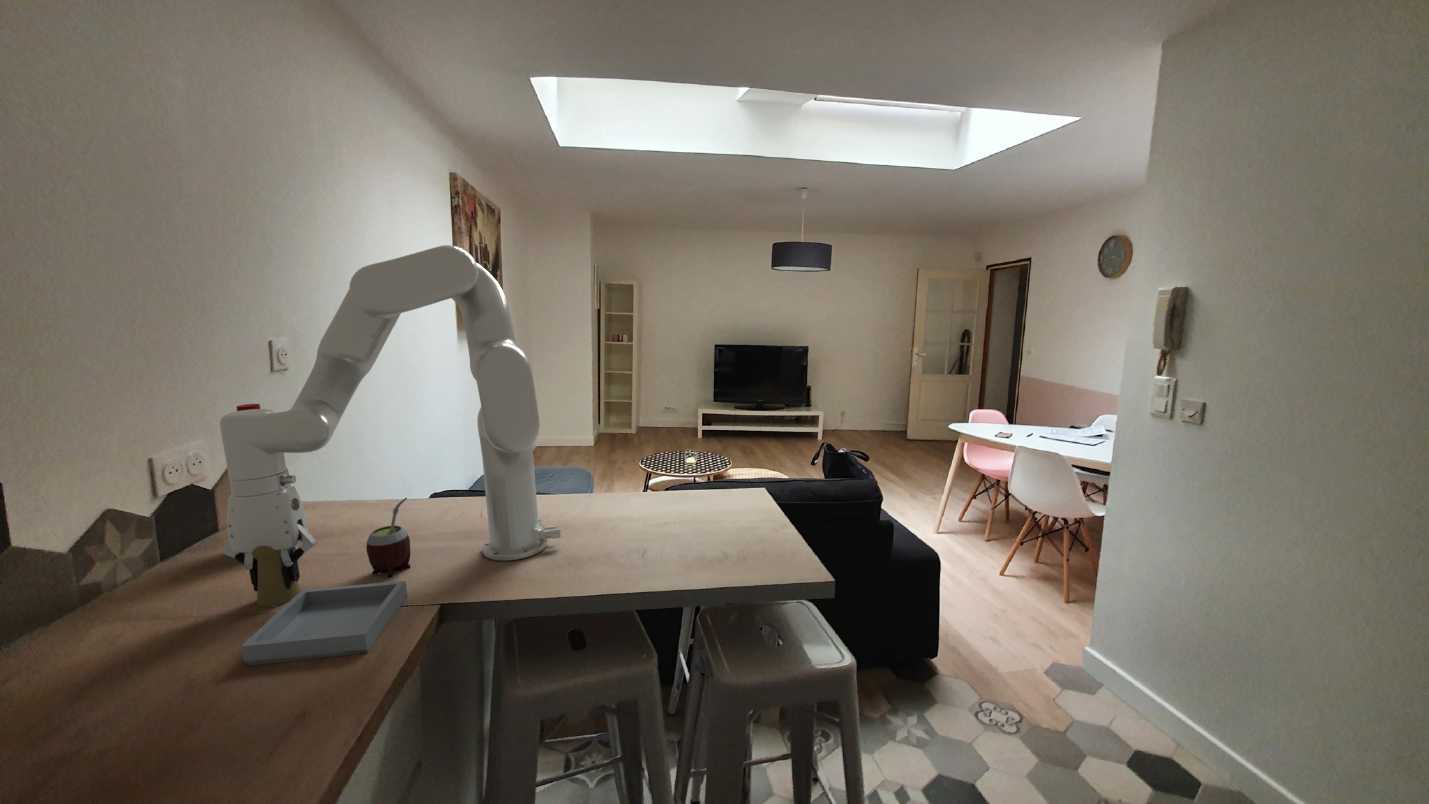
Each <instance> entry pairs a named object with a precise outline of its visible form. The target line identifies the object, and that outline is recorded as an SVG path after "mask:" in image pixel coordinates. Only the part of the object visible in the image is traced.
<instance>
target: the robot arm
mask: <svg viewBox="0 0 1429 804" xmlns="http://www.w3.org/2000/svg"><path fill="white" fill-rule="evenodd" d="M450 299H452V301H454V302H455V304H456V305H457V307H458V309H459V311H460V314H461V319H462V323H463V328H464V333H465V338H466V342H467V343H466V344H467V348H468V356H469V368H470V373H471V374H472V377H473V379H474V380H475V382H476V385H477V391H478V396H479V401H480V408H479V411H478V414H477V432H478V438H479V443H480V450H481V451H480V452H481V459H482V466H483V467H482V469H483V480H484V482H483V483H484V493H485V501H486V502H485V503H486V504H485V505H486V514H487V524H488V525H487V526H488V533H489V534H488V536H489V539H488V540H486V541H485V543H483V544H482V547H481V548H482V554H483V556H484V557H485V558H487V559H490V560H493V561H503V562H504V561H515V560H520V559H525V558H529V557H532V556H534V555H536V554H538V553H540V552H542V551H543V550H544V549H545V548H546V547H547V546H548V542H549V540H548V539H553V540H555V539H561V538H562V528H557V525H549V526H545V525H543V523H542V519H539V515H538V514H539V513H538V503H537V502H538V501H537V500H538V499H537V488H536V487H537V486H536V474H535V472H536V471H535V459H534V458H535V457H534V451H533V445H534V443H535V442H536V440H537V438H538V436H539V433H540V425H541V424H540V415H539V408H538V401H537V395H536V388H535V382H534V376H533V370H532V367H531V364H530V361H529V358H528V357H527V355H526V353H524V351H523V350H522V349H521V348H520V347H519V346H518V345H517V341H516V337H515V331H514V326H513V322H512V318H511V316H512V315H511V312H510V308H509V304H508V300H507V297H506V295H505V293H504V290H503V288H502V287H501V285H500V284H499V282H498V280H497V279H496V278H495V277H494V276H493V275H492V274H491V272H489V271H488V270H487V269H486V268H484V266H482V265H480V264H479V263H477V261H476V260H475V258H474V257H473V256H472V255H471V254H470V253H469V252H468V251H467V250H465V249H464V248H462V247H459V246H457V245H452V244H451V245H449V244H446V245H440V246H435V247H431V248H429V249H425V250H422V251H418V252H415V253H411V254H408V255H407V254H406V255H403V256H400V257H397V258H392V259H389V260H385V261H381V262H375V263H373V264H372V263H371V264H368V265H366V266H362V267H361V268H359V269H358V270H357V271H355V273H354V274H353V276H352V277H351V280H350V282H349V289H348V290H347V292H346V294H345V296H344V298H343V300H342V301H341V304H340V305H339V308H338V309H337V310H336V313H335V314H334V316H333V318H332V320H331V321H330V323H329V325H328V327H327V329H326V331H325V332H324V334H323V336H322V338H321V340H320V341H319V344H318V347H317V350H316V351H317V353H316V358H315V361H314V364H313V367H312V370H311V372H310V374H309V375H308V377H307V379H306V381H305V383H304V385H303V387H302V389H301V391H300V392H299V394H298V396H297V397H296V400H295V401H294V403H293V405H292V406H291V408H290V409H288V410H286V411H279V412H275V411H274V410H272V409H267V408H260V409H251V410H242V411H237V410H236V411H233V412H229V413H226V414H225V415H223V416H222V417H221V419H220V421H219V428H220V433H221V440H222V446H223V451H224V457H225V463H226V469H227V474H228V480H229V485H230V486H229V487H230V492H231V494H230V495H228V498H227V506H226V526H227V535H228V536H227V537H228V540H227V542H226V544H225V545H224V548H223V549H222V553H223V554H224V555H226V556H228V557H230V558H233V559H235V560H236V561H237V562H239V563H241V565H244V566H243V567H244V569H245V570H248V571H249V577H250V582H251V584H252V585H253V586H252V587H253V591H254V592H257V591H258V589H257V586H258V577H257V559H255V558H254V557H253V555H252V552H253V550H254V549H255V548H256V547H259V546H268V547H272V548H273V549H274V550H281V557H282V560H283V562H284V565H285V566H283V567H282V568H281V571H282V575H283V578H284V584H285V587H286V588H287V589H290V588H291V581H297V582H298V583H299V580H300V575H301V574H300V570H299V562H298V560H299V559H301V557H302V556H303V555H304V554H305V553H306V552H308V551H309V550H311V549H312V548H313V547H315V546H316V545H317V543H318V542H317V540H316V539H315V538H314V537H313V536H312V534H311V533H309V532H310V530H309V526H308V521H307V516H306V513H305V509H304V506H303V502H302V500H301V497H300V495H299V493H298V490H297V488H296V487H295V486H293V485H291V484H295V483H296V482H297V477H296V475H293V474H289V475H288V472H289V469H288V468H287V469H288V470H287V469H286V467H287V464H286V460H285V459H286V458H285V453H286V454H289V453H290V454H291V453H293V454H294V453H295V454H300V453H301V454H302V453H303V454H304V453H311V452H315V451H318V450H320V449H322V448H324V447H325V446H326V445H327V444H328V443H329V442H330V440H331V439H332V437H333V435H334V432H335V431H336V428H337V426H338V425H339V423H340V421H341V419H342V416H343V415H344V413H345V411H346V409H347V407H348V405H349V404H350V402H351V400H352V398H353V396H354V394H355V392H356V391H357V389H358V388H359V385H360V384H361V382H362V380H364V378H365V377H366V375H368V373H370V372H371V370H372V368H373V366H374V365H375V363H376V360H377V359H378V357H379V355H380V354H381V351H382V350H383V347H384V345H385V344H386V342H387V340H388V338H389V336H390V334H391V333H392V331H393V329H394V327H395V325H396V324H397V321H398V320H399V318H400V316H401V314H403V313H407V312H410V311H413V310H418V309H420V308H423V307H427V306H430V305H433V304H437V303H439V302H442V301H446V300H450ZM289 485H291V486H289ZM297 541H298V542H299V541H300V542H301V543H302V545H301V546H299V547H298V546H297V545H298V543H297Z"/></svg>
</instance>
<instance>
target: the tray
mask: <svg viewBox="0 0 1429 804" xmlns="http://www.w3.org/2000/svg"><path fill="white" fill-rule="evenodd" d="M406 583H407V582H406V580H401V581H400V580H399V581H388V582H387V581H386V582H376V583H366V584H365V583H364V584H354V585H353V584H352V585H344V586H343V585H342V586H341V585H340V586H329V587H318V588H307V589H301V590H300V591H301V592H300V593H298V594H297V595H296V596H295V597H294V598H293V599H292V600H291V601H289V602H287V603H285V605H284V606H283V607H282V608H281V609H280V610H279V611H277V613H276V614H274V615H273V616H272V617H271V618H270V619H269V620H268V621H267V622H266V623H265V624H264V625H263V626H261V627H260V628H259V629H258V630H257V631H256V632H255V633H254V634H252V636H250V637H249V638H248V639H247V640H246V641H245V642H244V643H243V644H242V645H240V649H241V654H242V661H243V664H244V665H243V666H244V667H246V666H254V665H257V666H258V665H264V664H275V663H285V662H292V661H293V662H294V661H305V660H313V659H322V658H331V657H344V656H350V655H362V654H368V653H369V652H370V650H371V649H372V648H373V646H374V645H375V643H376V642H377V641H378V639H379V638H380V636H381V635H382V634H383V633H384V630H385V629H386V628H387V627H388V625H389V624H390V622H391V621H392V619H393V618H394V617H395V615H396V614H397V612H398V611H399V609H400V608H401V607H402V606H403V604H404V602H405V601H406V599H407V598H408V592H407V584H406Z"/></svg>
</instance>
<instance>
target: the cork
mask: <svg viewBox="0 0 1429 804" xmlns="http://www.w3.org/2000/svg"><path fill="white" fill-rule="evenodd" d="M252 555H253V557H254V558H255V559H257V577H258V586H257V589H258V591H256V592H257V596H256V597H257V598H256V599H257V602H256V603H257V606H259V605H260V606H259V607H261V606H262V607H261V608H267V607H266V606H272V607H274V606H273V605H277V606H280V604H281V605H283V604H282V603H284V604H288V603H289V602H290V601H291V600H292V599H293V598H294V597H295V596H296V595H297V594H298V593H300V592H301V591H302V590H301V589H300V585H299V581H298V582H297V581H291V588H290V589H287V588H286V587H285V584H284V578H283V575H282V571H281V568H282V567H283V566H285V565H284V562H283V560H282V557H281V550H274V549H273V548H272V547H268V546H259V547H256V548H255V549H254V550H253V552H252ZM288 601H289V602H288ZM264 606H265V607H264Z"/></svg>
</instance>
